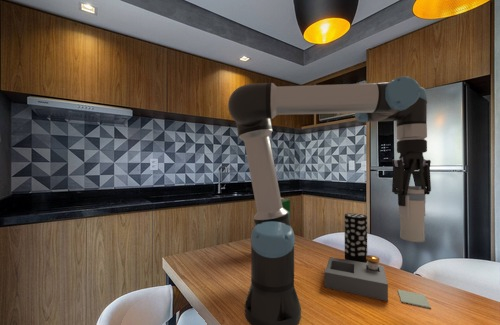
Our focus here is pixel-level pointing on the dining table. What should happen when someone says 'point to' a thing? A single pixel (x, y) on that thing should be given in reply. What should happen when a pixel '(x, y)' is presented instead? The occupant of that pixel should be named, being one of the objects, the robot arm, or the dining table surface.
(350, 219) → the white-spotted black cylinder
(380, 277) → the block
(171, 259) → the dining table surface
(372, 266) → the gold lidded jar
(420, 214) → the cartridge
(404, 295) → the mat
